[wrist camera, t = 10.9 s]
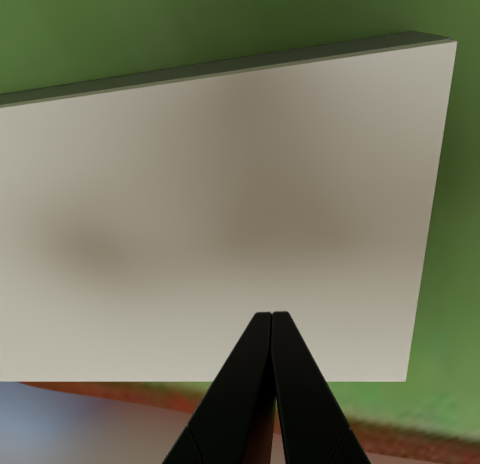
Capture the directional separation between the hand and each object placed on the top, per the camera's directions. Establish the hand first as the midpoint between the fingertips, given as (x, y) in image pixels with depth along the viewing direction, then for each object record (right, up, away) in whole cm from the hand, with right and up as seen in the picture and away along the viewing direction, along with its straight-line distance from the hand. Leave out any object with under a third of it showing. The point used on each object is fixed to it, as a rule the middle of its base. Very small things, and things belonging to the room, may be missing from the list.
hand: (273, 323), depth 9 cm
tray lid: (-5, +1, +6) cm, 8 cm away
